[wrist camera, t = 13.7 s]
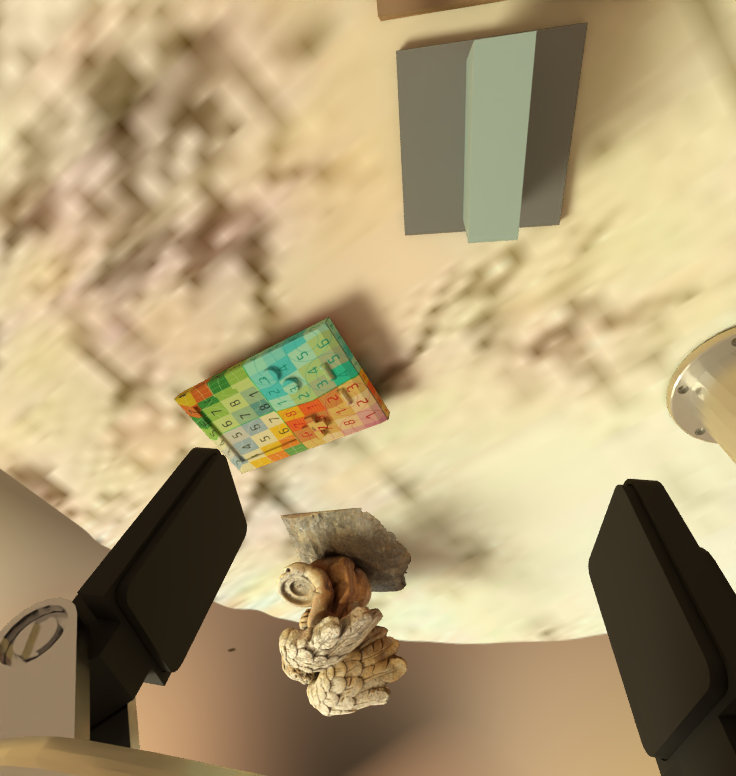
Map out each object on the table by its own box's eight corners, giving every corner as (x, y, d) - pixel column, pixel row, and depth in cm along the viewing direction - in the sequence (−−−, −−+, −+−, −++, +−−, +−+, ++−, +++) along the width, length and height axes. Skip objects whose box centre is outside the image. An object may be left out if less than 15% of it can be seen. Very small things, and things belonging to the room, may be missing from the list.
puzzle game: (387, 424, 41) (238, 479, 48) (392, 398, 44) (253, 452, 52) (323, 326, 36) (169, 404, 43) (334, 306, 40) (191, 381, 47)
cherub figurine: (269, 514, 58) (209, 648, 43) (393, 504, 53) (373, 653, 38) (311, 588, 66) (273, 722, 52) (421, 586, 62) (414, 733, 47)
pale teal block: (513, 53, 27) (536, 30, 20) (502, 215, 32) (517, 239, 26) (466, 60, 28) (474, 40, 21) (463, 218, 33) (468, 243, 26)
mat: (584, 24, 26) (587, 22, 26) (556, 222, 33) (559, 224, 32) (397, 52, 28) (396, 51, 28) (405, 233, 35) (405, 235, 34)
